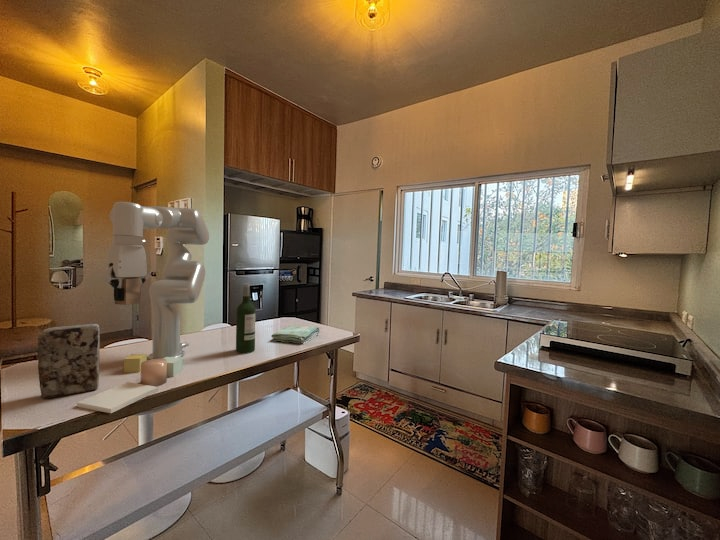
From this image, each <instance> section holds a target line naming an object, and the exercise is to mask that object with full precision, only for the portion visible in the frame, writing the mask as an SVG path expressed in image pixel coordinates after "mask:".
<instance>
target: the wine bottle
mask: <svg viewBox="0 0 720 540" xmlns="http://www.w3.org/2000/svg"><path fill="white" fill-rule="evenodd" d="M250 286H251V285H250V283H243V285H242V287H243V288H242V301H241V303H240V304H239V305H237V307H236V309H235V310H236V316H235V317H236V320H235V321H236V322H235V324H236V325H235V327H236V328H235V330H236V331H235V352H236V353H238V354H242V353H245V354H250V353H253V352H255V350H256V307H255V305H254V304H253V302H252V303H251V298H250V297H251V296H250V293H251V291H250V288H251V287H250Z"/></svg>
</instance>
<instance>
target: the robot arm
mask: <svg viewBox="0 0 720 540" xmlns="http://www.w3.org/2000/svg"><path fill="white" fill-rule="evenodd" d="M109 213H110V214H109V219H110V222H111V223H112V245H109V247H108V250H107V254H106V259H105V260H106V262H105V270H104V271H105V272H104V273H103V275H102V276H101V279H102V280H104V281H105V282H107V283H108V284H109V285H110V286H111V287H112V289H113V301H114V302H115V301H124V288H122V286H123V282H124V278H140V288H141V287H143V284H144V283H145V282H146V281H147V280H148V279H150V278H151V275H150V273H149V272H148V271H147V269H148V265H147V254H146V250H145V247H144V245H145V244H146V240H145V239H144V230H155V229H156V230H157V229H158V230H159V229H161V230H164V229H167V231H166V240H167V244H168V248H169V255H168V258H167V260H166V263H165V265H164V267H163V270H162V274H161V276H162V278H163V279H160V280H156V281H154V282H153V283H151V285H150V287H149V298H150V303H151V310H152V322H151V323H152V325H151V326H152V330H151V331H152V353H150V354H148V355H147V360H151V359H163V358H165V357H184V355H185V351H184V350H183V348H186V347H188V346H189V345H190V343H189V341H185V342H183V343H182V342H181V312H180V310H179V308H178V307H177V306H176V304H194V303H196V302H197V300H198V299H199V296H200V294H201V290H202V286H203V285H204V280H205V276H206V267H205V265H204V264H203V263H202V262H200V261H196V260H192V258H193V257H192V253H191V252H190V251H189V249H188V248H187V247H185V246H184V245H195V246H197V245H199V246H201V245H202V246H203V245H206V244H208V243H209V240H210V232H209V229H208V227H207V224H206V223H205V220H204V217H203V216H202V214H201V213H200V211H199V210H198V209H196V208H191V207H190V208H186V207H175V206H174V207H173V206H169V207H168V206H158V205H157V206H156V205H155V206H153V205H150V206H143V205H141V204H139V203H135V202H131V201H116V202H115V203H113V206H112V209H111V210H110V212H109Z"/></svg>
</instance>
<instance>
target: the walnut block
mask: <svg viewBox="0 0 720 540" xmlns="http://www.w3.org/2000/svg"><path fill="white" fill-rule="evenodd" d="M122 288H124V301H115V300H114V305H121V306H128V305H129V306H130V305H136V304H141V287H140V278H124V282H123V286H122Z"/></svg>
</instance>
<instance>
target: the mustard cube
mask: <svg viewBox="0 0 720 540" xmlns="http://www.w3.org/2000/svg"><path fill="white" fill-rule="evenodd" d="M147 360H148V355H147V353H135V354H129V355H128V356H126V357H124V358H123V373H141V363H142V362H144V361H147Z"/></svg>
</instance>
